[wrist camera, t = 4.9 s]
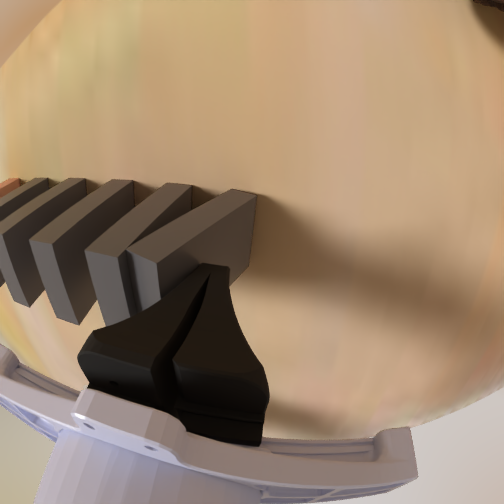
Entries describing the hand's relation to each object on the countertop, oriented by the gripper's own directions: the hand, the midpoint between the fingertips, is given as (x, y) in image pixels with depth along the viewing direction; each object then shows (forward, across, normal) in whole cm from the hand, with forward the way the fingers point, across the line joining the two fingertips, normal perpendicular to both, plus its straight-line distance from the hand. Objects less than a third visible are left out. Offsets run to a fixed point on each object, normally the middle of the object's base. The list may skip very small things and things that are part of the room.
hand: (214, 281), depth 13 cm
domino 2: (+6, +4, 0) cm, 7 cm away
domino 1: (+6, 0, 0) cm, 6 cm away
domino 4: (+6, +12, 0) cm, 13 cm away
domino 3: (+6, +8, 0) cm, 10 cm away
